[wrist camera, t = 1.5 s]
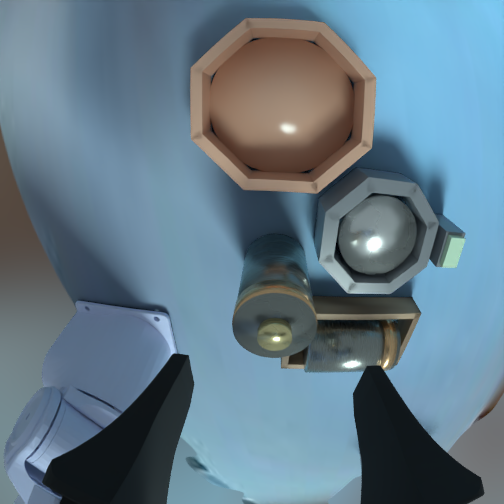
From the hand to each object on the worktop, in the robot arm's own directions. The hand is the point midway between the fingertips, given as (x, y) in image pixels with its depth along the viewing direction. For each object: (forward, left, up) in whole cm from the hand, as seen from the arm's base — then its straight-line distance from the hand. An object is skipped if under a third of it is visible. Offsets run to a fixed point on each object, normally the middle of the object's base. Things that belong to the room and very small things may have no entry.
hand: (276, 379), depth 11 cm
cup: (0, +10, -10) cm, 14 cm away
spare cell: (+6, -6, -9) cm, 12 cm away
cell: (0, 0, -10) cm, 10 cm away
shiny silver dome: (+6, +3, -8) cm, 11 cm away
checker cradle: (+6, +3, -10) cm, 12 cm away
